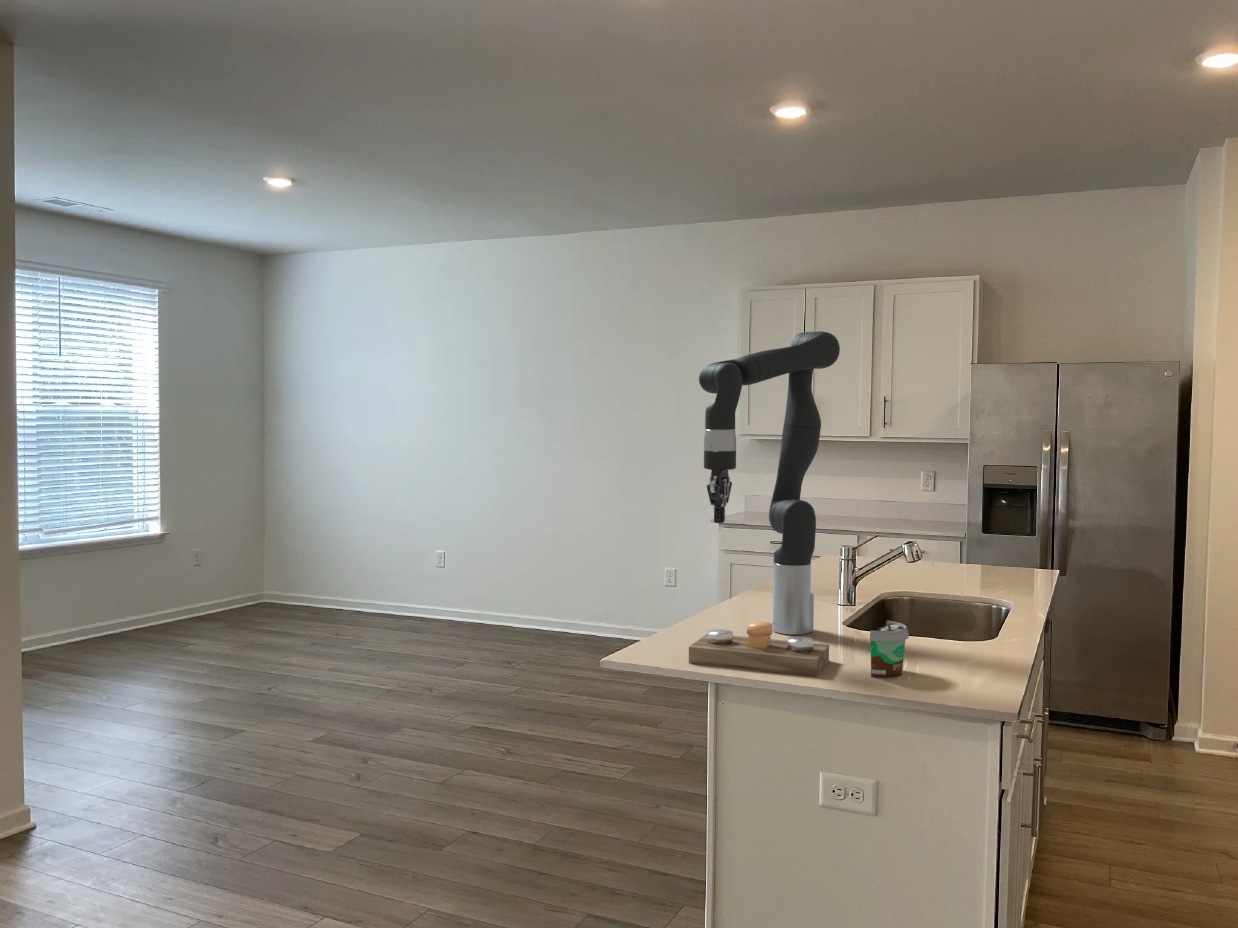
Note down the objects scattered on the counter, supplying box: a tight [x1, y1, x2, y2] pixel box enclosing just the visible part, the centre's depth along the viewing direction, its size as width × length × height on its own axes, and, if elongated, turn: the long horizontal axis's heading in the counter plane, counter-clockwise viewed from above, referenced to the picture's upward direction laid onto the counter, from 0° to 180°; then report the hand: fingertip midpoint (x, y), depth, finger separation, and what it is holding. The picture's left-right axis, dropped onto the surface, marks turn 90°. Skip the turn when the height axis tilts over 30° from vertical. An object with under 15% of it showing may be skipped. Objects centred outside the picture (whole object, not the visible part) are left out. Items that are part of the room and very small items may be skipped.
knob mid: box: [746, 620, 773, 649], centre depth 215 cm, size 6×6×5 cm
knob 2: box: [786, 635, 814, 653], centre depth 212 cm, size 6×6×5 cm
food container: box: [869, 620, 910, 679], centre depth 206 cm, size 12×6×10 cm, turn 148°
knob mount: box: [688, 633, 830, 677], centre depth 215 cm, size 14×28×4 cm, turn 68°
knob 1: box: [706, 628, 734, 645], centre depth 219 cm, size 6×6×5 cm
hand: (719, 522), depth 229 cm, fingers closed
